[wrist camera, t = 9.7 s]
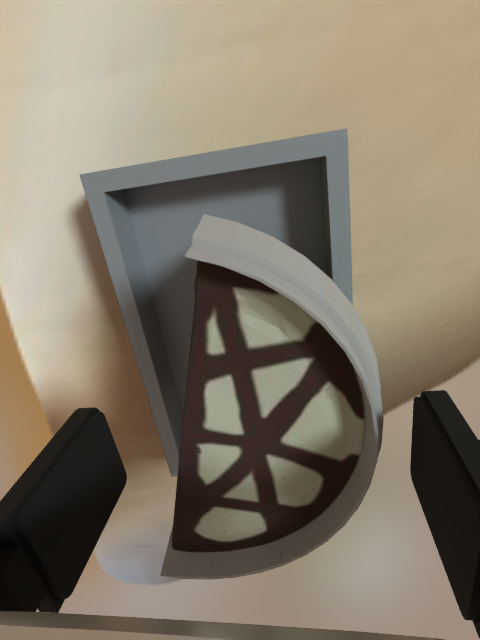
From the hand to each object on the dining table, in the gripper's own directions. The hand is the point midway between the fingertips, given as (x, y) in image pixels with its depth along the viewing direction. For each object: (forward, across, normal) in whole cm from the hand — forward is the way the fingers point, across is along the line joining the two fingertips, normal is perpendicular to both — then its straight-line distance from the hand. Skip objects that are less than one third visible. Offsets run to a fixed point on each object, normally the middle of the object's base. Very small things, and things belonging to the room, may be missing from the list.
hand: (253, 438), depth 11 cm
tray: (+10, +2, 0) cm, 10 cm away
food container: (+9, 0, 0) cm, 9 cm away
